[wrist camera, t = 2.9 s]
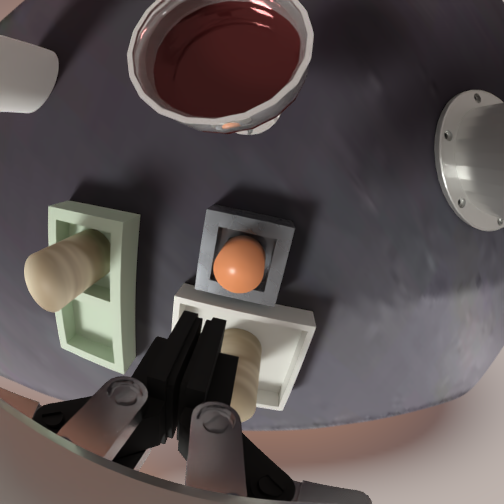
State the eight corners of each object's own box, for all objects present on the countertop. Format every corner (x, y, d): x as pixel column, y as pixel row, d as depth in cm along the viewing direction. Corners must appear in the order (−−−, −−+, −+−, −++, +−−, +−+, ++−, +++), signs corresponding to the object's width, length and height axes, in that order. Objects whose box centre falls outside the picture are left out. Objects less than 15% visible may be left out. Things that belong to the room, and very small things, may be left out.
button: (270, 240, 20) (268, 252, 18) (260, 282, 21) (258, 298, 19) (225, 231, 20) (217, 240, 18) (217, 272, 21) (210, 287, 19)
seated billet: (114, 234, 22) (62, 262, 15) (113, 282, 23) (68, 320, 17) (75, 224, 22) (21, 247, 15) (76, 270, 23) (28, 301, 17)
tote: (312, 311, 23) (316, 327, 21) (282, 393, 27) (282, 410, 24) (184, 283, 24) (174, 295, 21) (176, 369, 27) (168, 385, 24)
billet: (266, 334, 24) (262, 391, 17) (255, 371, 25) (249, 428, 19) (216, 323, 24) (196, 376, 17) (209, 361, 25) (191, 415, 19)
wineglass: (257, 47, 18) (236, -50, 6) (314, 112, 19) (356, 56, 7) (186, 98, 19) (98, 47, 8) (239, 165, 20) (193, 168, 9)
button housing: (293, 220, 21) (295, 228, 19) (275, 292, 23) (274, 307, 21) (214, 204, 22) (206, 209, 19) (202, 276, 23) (194, 289, 21)
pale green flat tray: (140, 214, 22) (123, 222, 19) (135, 357, 27) (124, 374, 24) (69, 200, 22) (48, 206, 20) (75, 333, 27) (61, 347, 24)
